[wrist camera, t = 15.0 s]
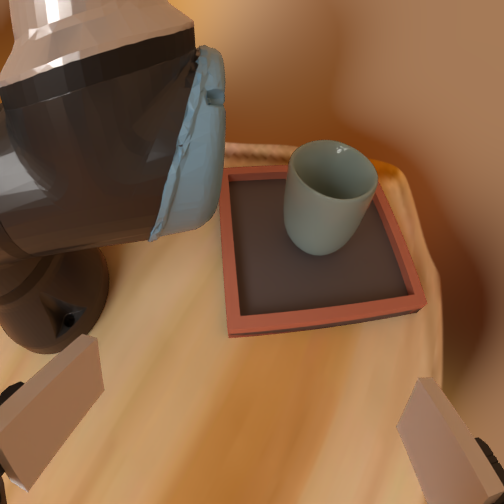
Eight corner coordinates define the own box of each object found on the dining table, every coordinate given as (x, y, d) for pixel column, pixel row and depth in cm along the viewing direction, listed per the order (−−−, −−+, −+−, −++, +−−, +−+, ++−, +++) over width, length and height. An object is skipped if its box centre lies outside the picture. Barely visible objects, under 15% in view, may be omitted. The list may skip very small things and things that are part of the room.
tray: (218, 182, 39) (217, 168, 37) (365, 177, 41) (370, 164, 39) (228, 338, 29) (227, 330, 27) (416, 312, 30) (427, 303, 28)
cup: (264, 226, 34) (271, 155, 26) (318, 198, 37) (335, 131, 28) (309, 280, 31) (333, 215, 22) (363, 244, 33) (395, 180, 25)
